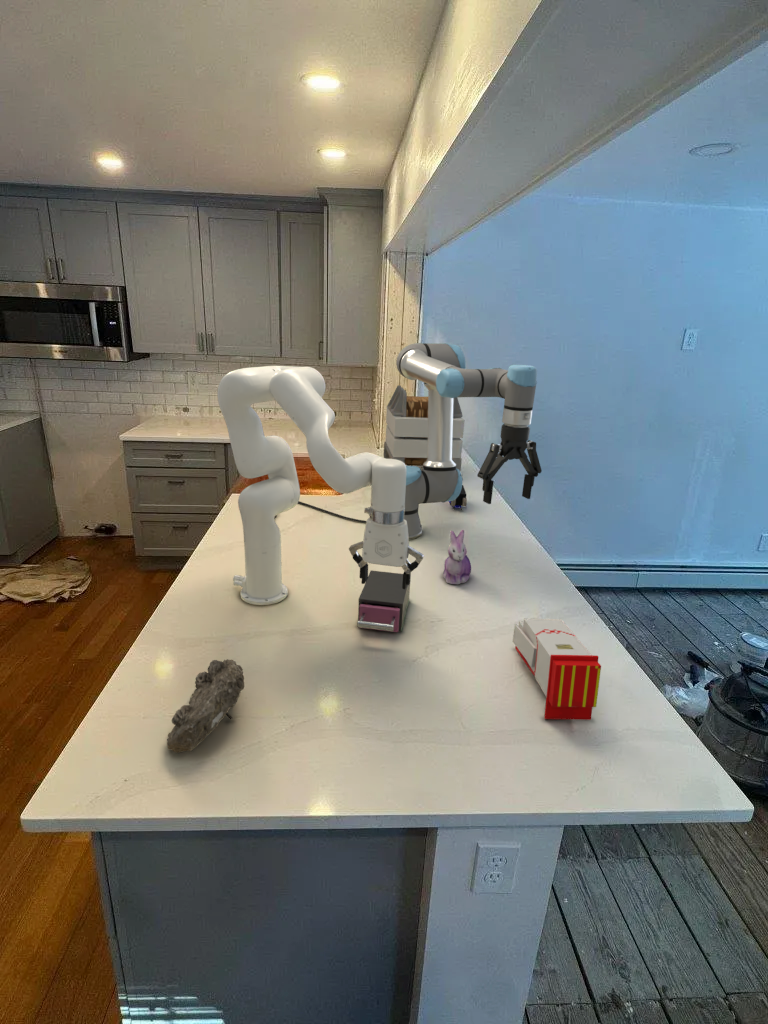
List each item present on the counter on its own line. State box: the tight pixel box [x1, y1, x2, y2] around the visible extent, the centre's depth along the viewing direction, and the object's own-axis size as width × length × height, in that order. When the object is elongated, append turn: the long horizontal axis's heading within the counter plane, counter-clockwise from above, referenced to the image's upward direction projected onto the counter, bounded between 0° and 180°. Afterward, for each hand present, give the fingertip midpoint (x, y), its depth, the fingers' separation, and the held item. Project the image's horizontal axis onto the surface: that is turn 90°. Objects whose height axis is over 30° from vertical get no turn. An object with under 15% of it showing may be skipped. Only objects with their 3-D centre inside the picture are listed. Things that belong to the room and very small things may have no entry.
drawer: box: [356, 603, 400, 633], centre depth 142 cm, size 21×10×6 cm, turn 171°
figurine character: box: [448, 484, 468, 511], centre depth 230 cm, size 7×8×15 cm
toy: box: [512, 618, 602, 721], centre depth 123 cm, size 12×13×30 cm
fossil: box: [166, 658, 245, 754], centre depth 106 cm, size 22×10×15 cm
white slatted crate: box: [383, 384, 465, 472], centre depth 268 cm, size 34×33×41 cm
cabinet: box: [357, 570, 411, 633], centre depth 146 cm, size 16×11×8 cm
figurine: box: [442, 529, 472, 585], centre depth 166 cm, size 9×10×15 cm
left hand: (384, 583), depth 132 cm, fingers open, 9 cm apart
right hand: (506, 500), depth 159 cm, fingers open, 13 cm apart
